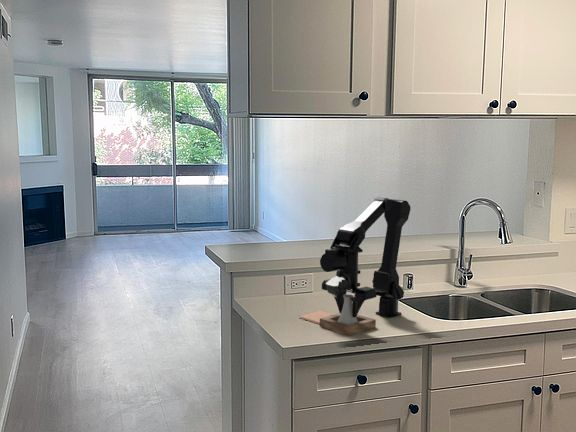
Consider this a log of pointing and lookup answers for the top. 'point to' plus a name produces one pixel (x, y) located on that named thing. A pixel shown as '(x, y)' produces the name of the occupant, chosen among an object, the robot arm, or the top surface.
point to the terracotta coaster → (315, 316)
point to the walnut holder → (351, 329)
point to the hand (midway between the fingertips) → (347, 315)
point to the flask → (347, 311)
